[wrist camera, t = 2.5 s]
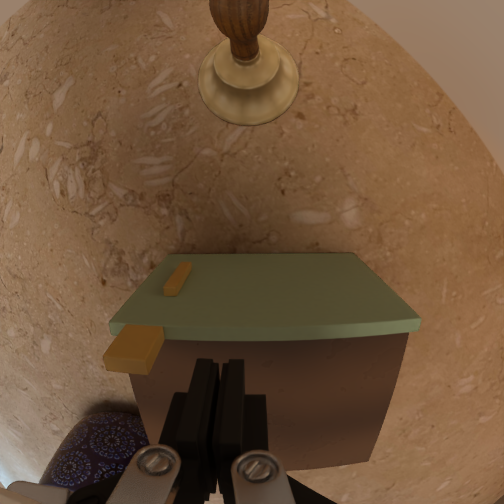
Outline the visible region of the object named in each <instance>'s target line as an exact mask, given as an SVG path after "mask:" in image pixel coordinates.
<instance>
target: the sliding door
mask: <svg viewBox="0 0 504 504" xmlns="http://www.w3.org/2000/svg"><path fill="white" fill-rule="evenodd" d="M420 324H421V317H420V316H419V315H418V314H417V313H416V312H415V311H414V310H413V309H412V308H411V307H410V306H409V305H408V304H407V303H406V302H405V301H404V300H403V299H402V298H401V297H399V296H398V295H397V294H396V293H395V292H394V291H393V290H392V289H391V288H390V287H389V286H388V285H387V284H386V283H385V282H384V281H383V280H382V279H381V278H380V277H379V276H377V275H376V274H375V273H374V272H373V271H372V270H371V269H370V268H369V267H368V266H367V265H366V264H365V263H363V262H362V261H361V260H360V259H359V258H358V257H357V256H356V255H355V254H354V253H287V254H168V255H167V256H166V257H165V259H164V260H163V261H162V262H161V263H160V264H159V265H158V266H157V267H156V269H155V270H154V271H153V272H152V273H151V274H150V275H149V276H148V277H147V279H146V280H145V281H144V282H143V283H142V284H141V285H140V286H139V288H138V289H137V290H136V291H135V292H134V293H133V294H132V296H131V297H130V298H129V299H128V300H127V301H126V303H125V304H124V305H123V306H122V307H121V308H120V310H119V311H118V312H117V313H116V314H115V315H114V317H113V318H112V319H111V320H110V321H109V327H110V332H111V335H113V336H117V337H116V338H115V340H114V341H113V342H112V344H111V345H110V346H109V348H108V349H107V351H106V352H105V353H104V355H103V360H104V364H105V367H106V370H107V371H114V372H122V373H130V374H140V375H148V374H149V372H150V370H151V368H152V366H153V364H154V361H155V359H156V357H157V355H158V353H159V351H160V349H161V346H162V344H163V342H164V340H165V339H172V340H198V341H290V340H316V339H335V338H350V337H364V336H375V335H386V334H396V333H406V332H414V331H419V328H420Z"/></svg>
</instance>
